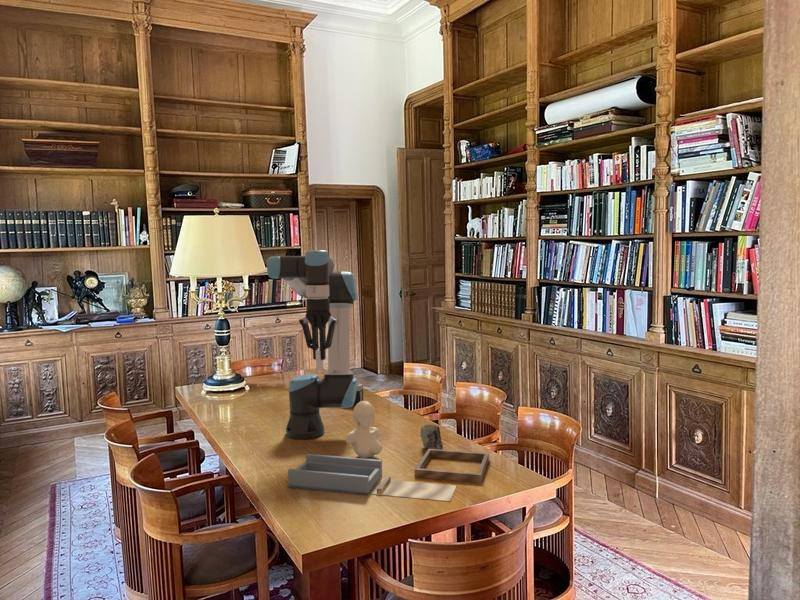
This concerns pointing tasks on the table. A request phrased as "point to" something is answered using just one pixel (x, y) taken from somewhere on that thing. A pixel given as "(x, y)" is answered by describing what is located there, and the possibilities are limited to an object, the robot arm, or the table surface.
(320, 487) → the pencil box
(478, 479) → the brown wooden frame
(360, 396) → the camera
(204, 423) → the table surface
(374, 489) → the lid
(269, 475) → the table surface
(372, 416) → the figurine
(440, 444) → the stone
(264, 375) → the table surface
